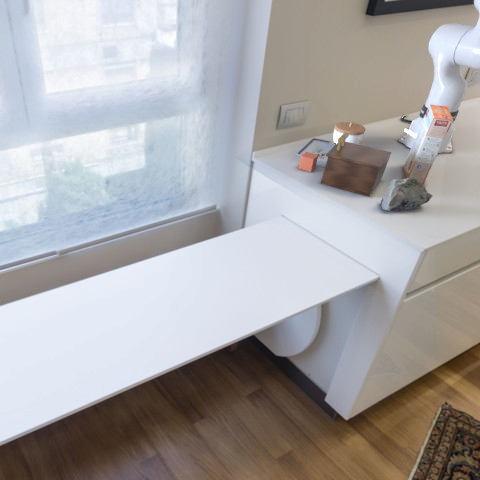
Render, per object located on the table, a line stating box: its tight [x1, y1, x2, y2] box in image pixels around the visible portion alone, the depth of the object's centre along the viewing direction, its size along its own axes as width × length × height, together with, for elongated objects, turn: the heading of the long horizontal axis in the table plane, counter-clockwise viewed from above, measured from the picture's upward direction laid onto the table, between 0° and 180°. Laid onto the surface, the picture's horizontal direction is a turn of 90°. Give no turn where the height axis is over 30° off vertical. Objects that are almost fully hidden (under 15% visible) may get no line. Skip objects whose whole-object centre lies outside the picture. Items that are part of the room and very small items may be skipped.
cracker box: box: [403, 104, 454, 185], centre depth 143 cm, size 14×6×21 cm, turn 160°
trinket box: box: [332, 121, 366, 145], centre depth 164 cm, size 11×11×9 cm
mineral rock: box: [380, 176, 433, 212], centre depth 129 cm, size 13×11×10 cm
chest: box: [320, 155, 391, 197], centre depth 142 cm, size 16×14×9 cm
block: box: [298, 151, 319, 173], centre depth 151 cm, size 4×4×4 cm
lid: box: [325, 132, 392, 169], centre depth 138 cm, size 17×14×5 cm
